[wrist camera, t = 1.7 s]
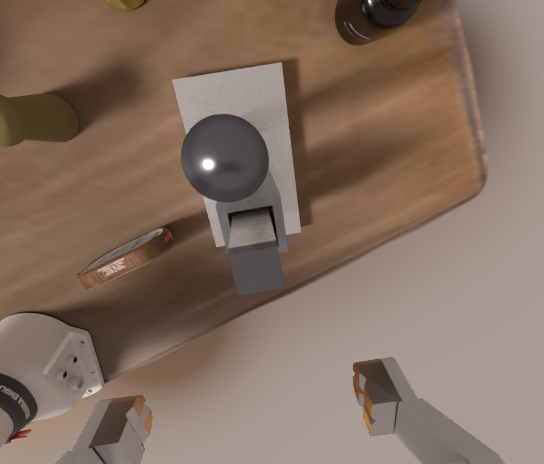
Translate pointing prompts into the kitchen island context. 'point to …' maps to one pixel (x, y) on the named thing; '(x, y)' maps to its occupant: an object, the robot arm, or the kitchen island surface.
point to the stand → (240, 147)
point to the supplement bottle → (371, 18)
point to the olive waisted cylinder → (36, 119)
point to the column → (254, 252)
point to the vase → (125, 4)
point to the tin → (126, 258)
